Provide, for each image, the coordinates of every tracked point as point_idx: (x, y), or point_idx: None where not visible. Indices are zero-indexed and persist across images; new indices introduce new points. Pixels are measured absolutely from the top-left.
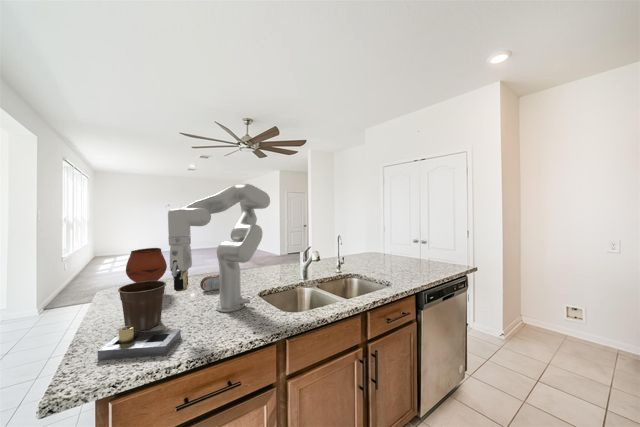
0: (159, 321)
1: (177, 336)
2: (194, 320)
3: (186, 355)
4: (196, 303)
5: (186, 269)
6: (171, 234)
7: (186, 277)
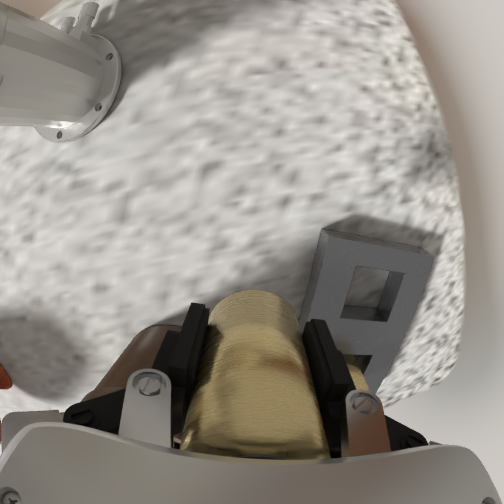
0: (175, 329)
1: (353, 237)
2: (167, 205)
3: (441, 191)
4: (19, 236)
5: (385, 459)
6: None
7: (263, 367)
